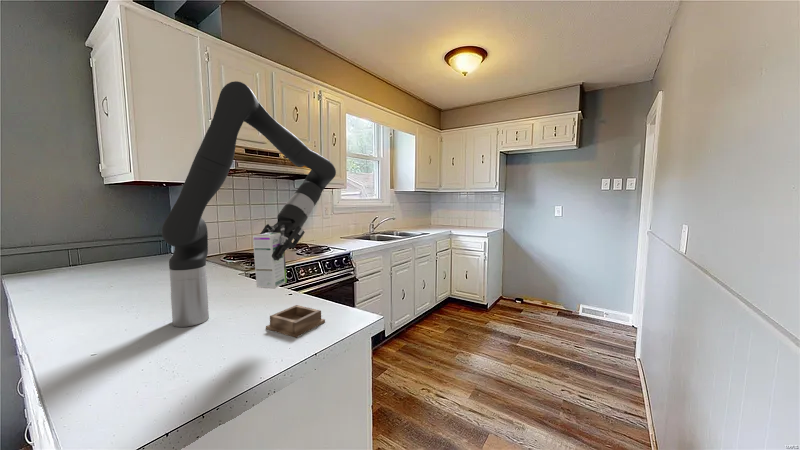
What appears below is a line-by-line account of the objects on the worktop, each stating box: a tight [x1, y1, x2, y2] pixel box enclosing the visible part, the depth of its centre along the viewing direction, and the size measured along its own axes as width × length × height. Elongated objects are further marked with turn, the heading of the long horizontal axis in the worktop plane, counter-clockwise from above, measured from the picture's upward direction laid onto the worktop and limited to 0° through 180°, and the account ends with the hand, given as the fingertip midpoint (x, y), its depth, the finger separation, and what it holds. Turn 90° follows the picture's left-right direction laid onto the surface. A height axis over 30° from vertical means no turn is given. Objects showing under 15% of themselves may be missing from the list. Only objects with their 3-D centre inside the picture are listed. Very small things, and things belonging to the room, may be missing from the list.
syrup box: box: [252, 232, 288, 289], centre depth 83 cm, size 6×6×14 cm
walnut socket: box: [265, 304, 326, 339], centre depth 92 cm, size 12×12×4 cm
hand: (265, 257), depth 82 cm, fingers closed on syrup box, 6 cm apart
